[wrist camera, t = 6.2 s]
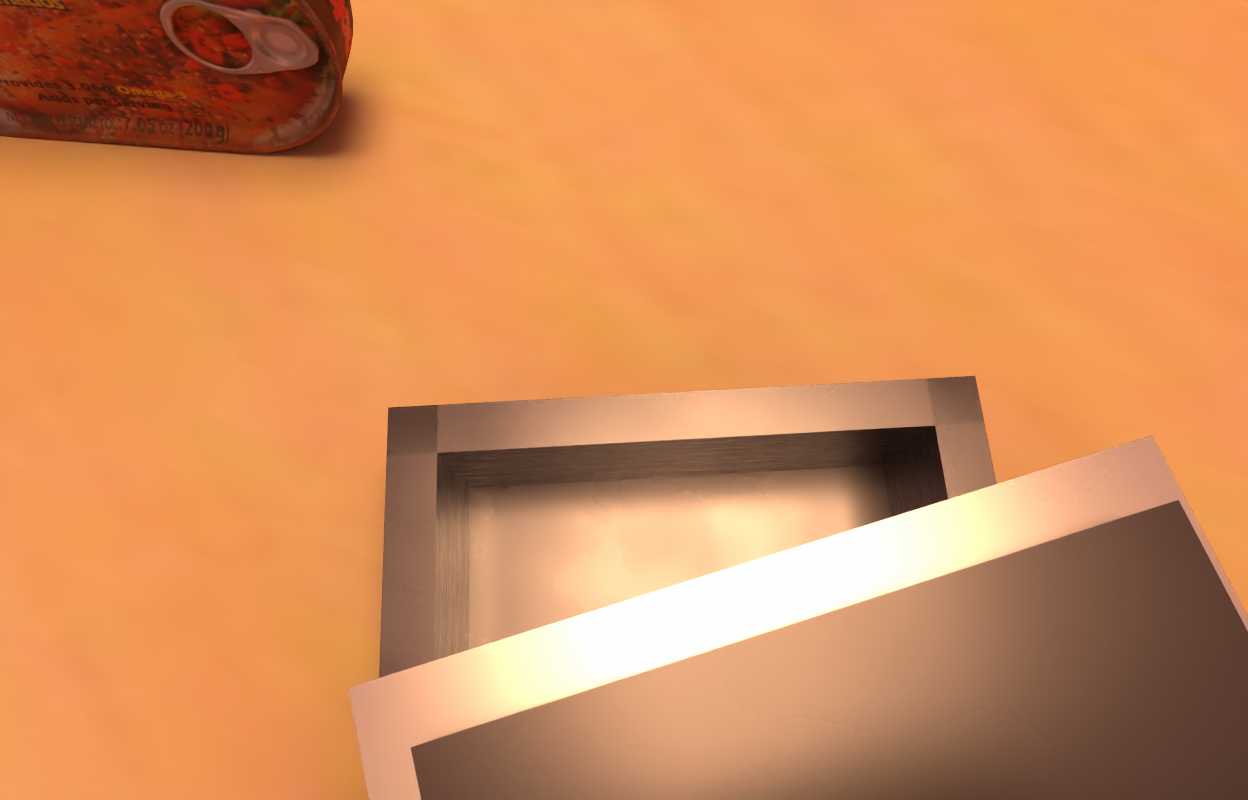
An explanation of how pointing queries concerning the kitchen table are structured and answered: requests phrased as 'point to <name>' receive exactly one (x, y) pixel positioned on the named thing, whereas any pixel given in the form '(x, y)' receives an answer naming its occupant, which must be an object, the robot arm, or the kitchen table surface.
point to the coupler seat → (643, 495)
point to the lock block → (868, 667)
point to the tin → (173, 71)
